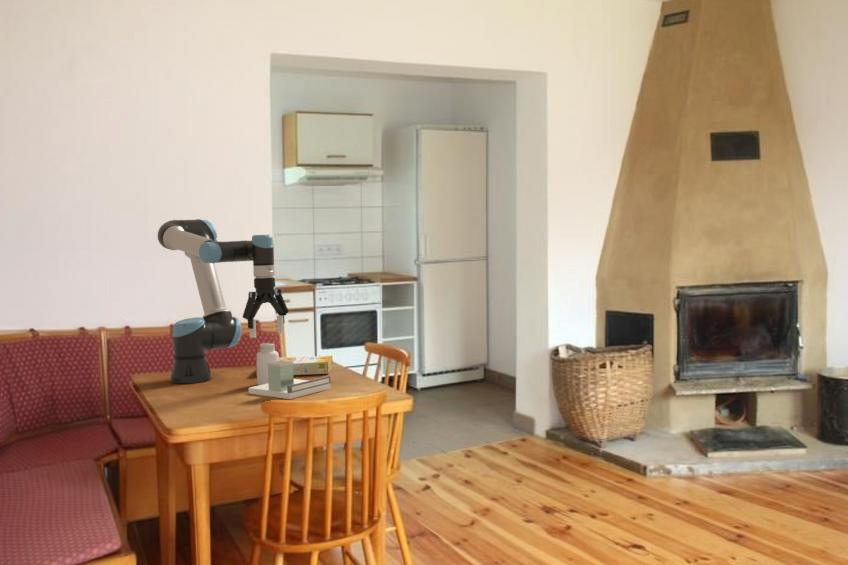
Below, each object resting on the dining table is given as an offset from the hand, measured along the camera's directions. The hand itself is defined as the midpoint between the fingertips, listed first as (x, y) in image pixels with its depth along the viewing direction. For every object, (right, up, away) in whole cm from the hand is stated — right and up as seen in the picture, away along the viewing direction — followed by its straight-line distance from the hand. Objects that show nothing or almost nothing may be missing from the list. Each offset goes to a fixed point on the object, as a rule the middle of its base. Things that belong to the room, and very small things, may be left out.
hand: (267, 335), depth 301 cm
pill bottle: (0, -18, +2) cm, 18 cm away
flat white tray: (+10, -19, -12) cm, 24 cm away
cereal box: (+6, -17, +28) cm, 33 cm away
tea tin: (+8, -17, -18) cm, 26 cm away
